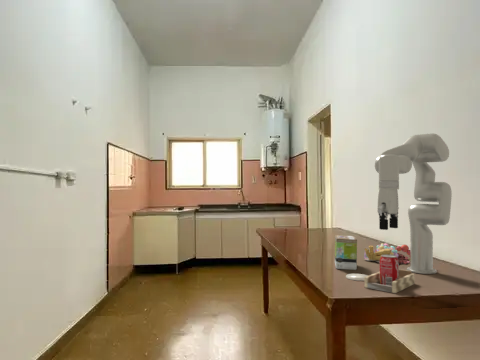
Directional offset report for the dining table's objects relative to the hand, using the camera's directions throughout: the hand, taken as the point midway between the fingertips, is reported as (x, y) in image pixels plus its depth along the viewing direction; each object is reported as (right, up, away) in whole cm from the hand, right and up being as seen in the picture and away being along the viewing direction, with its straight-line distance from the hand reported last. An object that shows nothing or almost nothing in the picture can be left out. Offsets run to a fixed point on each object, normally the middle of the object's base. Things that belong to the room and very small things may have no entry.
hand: (388, 228), depth 153 cm
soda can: (0, -23, 0) cm, 23 cm away
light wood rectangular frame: (+1, -23, 0) cm, 23 cm away
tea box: (-7, -24, +38) cm, 45 cm away
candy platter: (+21, -25, +55) cm, 64 cm away
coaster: (-8, -23, +13) cm, 27 cm away
